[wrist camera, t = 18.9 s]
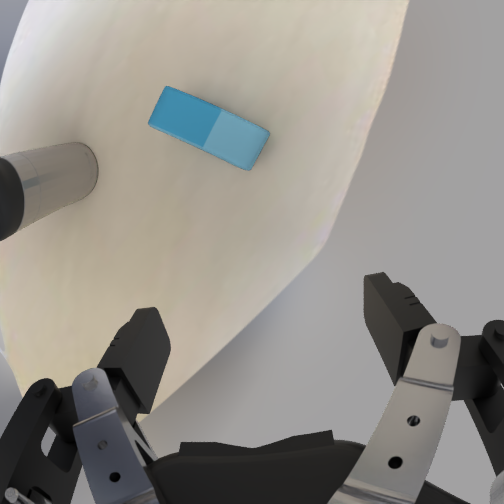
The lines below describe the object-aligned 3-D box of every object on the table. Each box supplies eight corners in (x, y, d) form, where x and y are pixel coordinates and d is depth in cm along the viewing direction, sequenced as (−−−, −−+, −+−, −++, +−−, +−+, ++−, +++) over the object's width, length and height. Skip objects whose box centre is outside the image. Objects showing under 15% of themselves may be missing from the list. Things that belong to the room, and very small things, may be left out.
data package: (268, 132, 38) (271, 132, 27) (252, 161, 40) (249, 173, 29) (189, 95, 36) (161, 83, 25) (174, 125, 38) (142, 123, 27)
